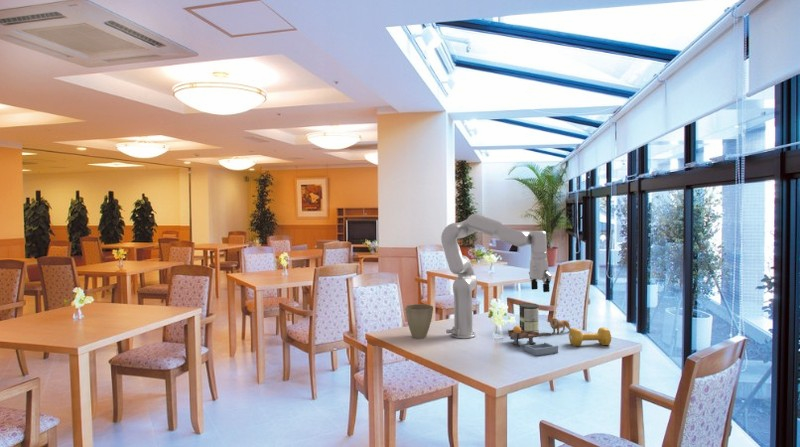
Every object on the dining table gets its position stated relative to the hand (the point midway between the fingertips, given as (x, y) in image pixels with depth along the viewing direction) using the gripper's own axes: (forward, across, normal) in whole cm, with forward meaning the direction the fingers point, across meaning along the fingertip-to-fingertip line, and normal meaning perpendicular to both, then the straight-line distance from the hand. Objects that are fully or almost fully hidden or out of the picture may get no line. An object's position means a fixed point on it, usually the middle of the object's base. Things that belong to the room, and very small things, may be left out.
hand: (540, 290), depth 234 cm
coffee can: (+26, -26, +9) cm, 38 cm away
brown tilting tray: (+24, -3, -5) cm, 25 cm away
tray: (+27, +10, -8) cm, 30 cm away
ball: (+20, -8, -9) cm, 23 cm away
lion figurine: (+27, -15, +22) cm, 37 cm away
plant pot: (+25, -34, -52) cm, 67 cm away
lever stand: (+26, -3, -9) cm, 28 cm away
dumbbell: (+28, +9, +21) cm, 36 cm away
